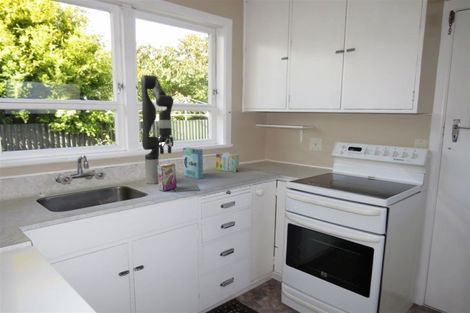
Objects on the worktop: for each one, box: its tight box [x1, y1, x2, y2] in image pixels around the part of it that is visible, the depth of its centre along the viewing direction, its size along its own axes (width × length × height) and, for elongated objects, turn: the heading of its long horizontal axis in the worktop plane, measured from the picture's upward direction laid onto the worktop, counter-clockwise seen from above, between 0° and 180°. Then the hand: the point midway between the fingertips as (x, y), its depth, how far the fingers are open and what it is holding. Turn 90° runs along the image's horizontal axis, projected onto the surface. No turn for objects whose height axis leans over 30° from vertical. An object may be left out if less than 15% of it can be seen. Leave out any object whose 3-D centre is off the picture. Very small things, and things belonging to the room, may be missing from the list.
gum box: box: [182, 146, 204, 180], centre depth 241 cm, size 20×5×23 cm, turn 45°
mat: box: [173, 184, 201, 193], centre depth 204 cm, size 15×16×1 cm
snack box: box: [215, 152, 240, 173], centre depth 270 cm, size 21×6×15 cm, turn 58°
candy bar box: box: [157, 162, 177, 192], centre depth 200 cm, size 11×5×16 cm, turn 141°
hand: (165, 153), depth 191 cm, fingers open, 8 cm apart
